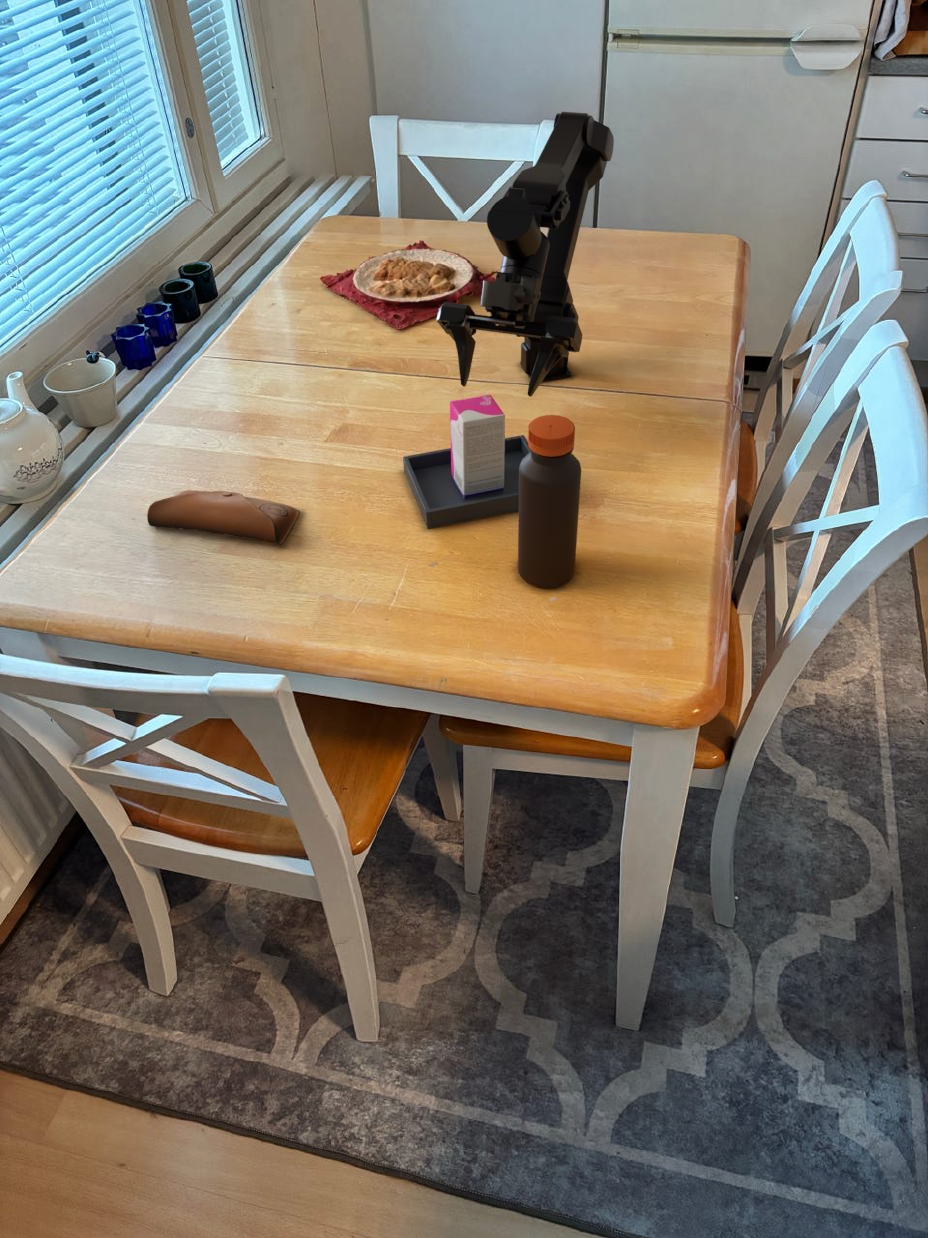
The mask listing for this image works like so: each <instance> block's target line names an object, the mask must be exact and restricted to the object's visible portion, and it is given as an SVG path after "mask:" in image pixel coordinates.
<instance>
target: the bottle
mask: <svg viewBox="0 0 928 1238" xmlns="http://www.w3.org/2000/svg"><path fill="white" fill-rule="evenodd" d="M527 431H528V433H527V435H528V436H527V441H528V445H529V451H530V453H529V454H527V455H526V456H525V457H524V458H523V459H522V461H521V464H520V466H519V511H518V521H517V523H518V525H517V526H518V528H517V532H518V534H517V535H518V536H517V571H518V574H519V576H520V577H521V579H522V580H523V581H524V582H526V583H527V584H529V585H531V586H533V587H536V588H540V589H541V588H542V589H553V588H557V587H561V586H563V585H565V584H566V583H569V581H570V580H571V579H572V578H573V576H574V573H575V570H576V559H577V557H576V556H577V545H578V544H577V542H578V527H579V513H580V512H579V511H580V498H581V497H580V496H581V479H582V466H581V463H580V460H579V459H578V458H577V457H576V456H575V455H574V454H573V452H574V448H575V447H574V446H575V440H576V439H575V436H576V425H575V423H574V422H573V421H572V420H571V419H569V418H568V417H565V416H562V415H559V414H557V415H556V414H546V415H541V416H538V417H536V418H534V419H532V420H531V421H530V422H529V424H528V430H527Z"/></svg>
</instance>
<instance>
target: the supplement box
mask: <svg viewBox="0 0 928 1238" xmlns="http://www.w3.org/2000/svg"><path fill="white" fill-rule="evenodd" d="M449 424H450V425H449V426H450V427H449V428H450V430H449V431H450V448H451V476H452V479H453V481H454V482H455V484H456V486H457V488H458V490H459V491H460V493H461V495H462V497H463V498H464V499H467V498H472V497H476V496H481V495H486V494H491V493H496V492H500V491H503V490H504V454H505V438H506V415H505V412H504V411H503V410H502V408H501V407H500V406H499V404H498V403H497V401H496V400H495V399H494V397H493V396H492V394H485V395H479V396H475V397H469V398H463V399H456V400H451V401H449Z"/></svg>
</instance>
